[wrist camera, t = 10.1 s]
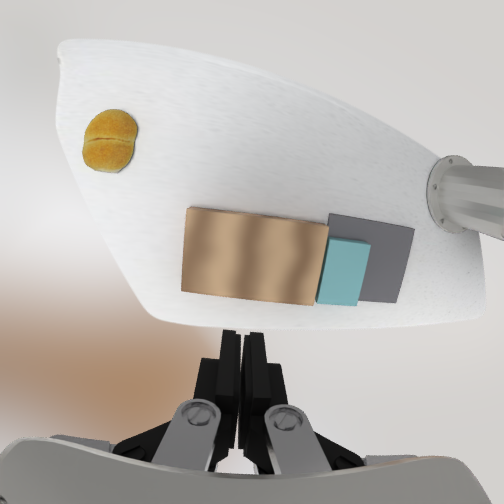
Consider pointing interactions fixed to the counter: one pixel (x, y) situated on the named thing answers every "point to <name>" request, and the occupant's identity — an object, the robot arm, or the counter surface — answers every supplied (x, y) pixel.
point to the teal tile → (342, 271)
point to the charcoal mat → (377, 254)
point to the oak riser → (252, 256)
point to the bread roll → (109, 141)
